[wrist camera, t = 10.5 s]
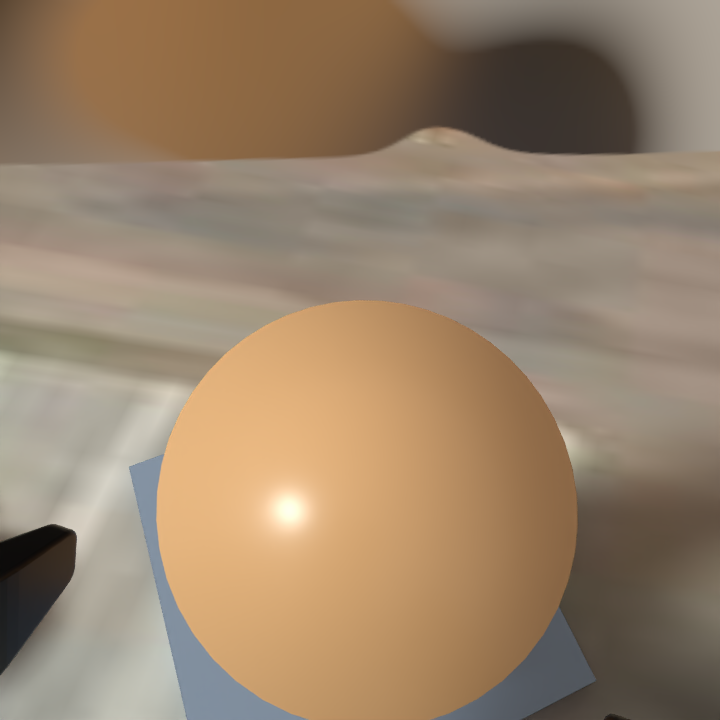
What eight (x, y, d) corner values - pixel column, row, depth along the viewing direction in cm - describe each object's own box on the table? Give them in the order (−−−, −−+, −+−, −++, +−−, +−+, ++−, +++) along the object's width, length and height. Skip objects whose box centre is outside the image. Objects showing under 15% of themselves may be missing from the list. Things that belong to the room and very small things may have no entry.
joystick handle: (485, 539, 18) (812, 395, 6) (377, 738, 16) (527, 1268, 3) (323, 431, 20) (297, 121, 7) (201, 598, 17) (-180, 583, 5)
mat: (589, 678, 17) (596, 680, 17) (226, 866, 15) (222, 874, 15) (430, 361, 22) (432, 356, 21) (133, 470, 20) (128, 466, 19)
